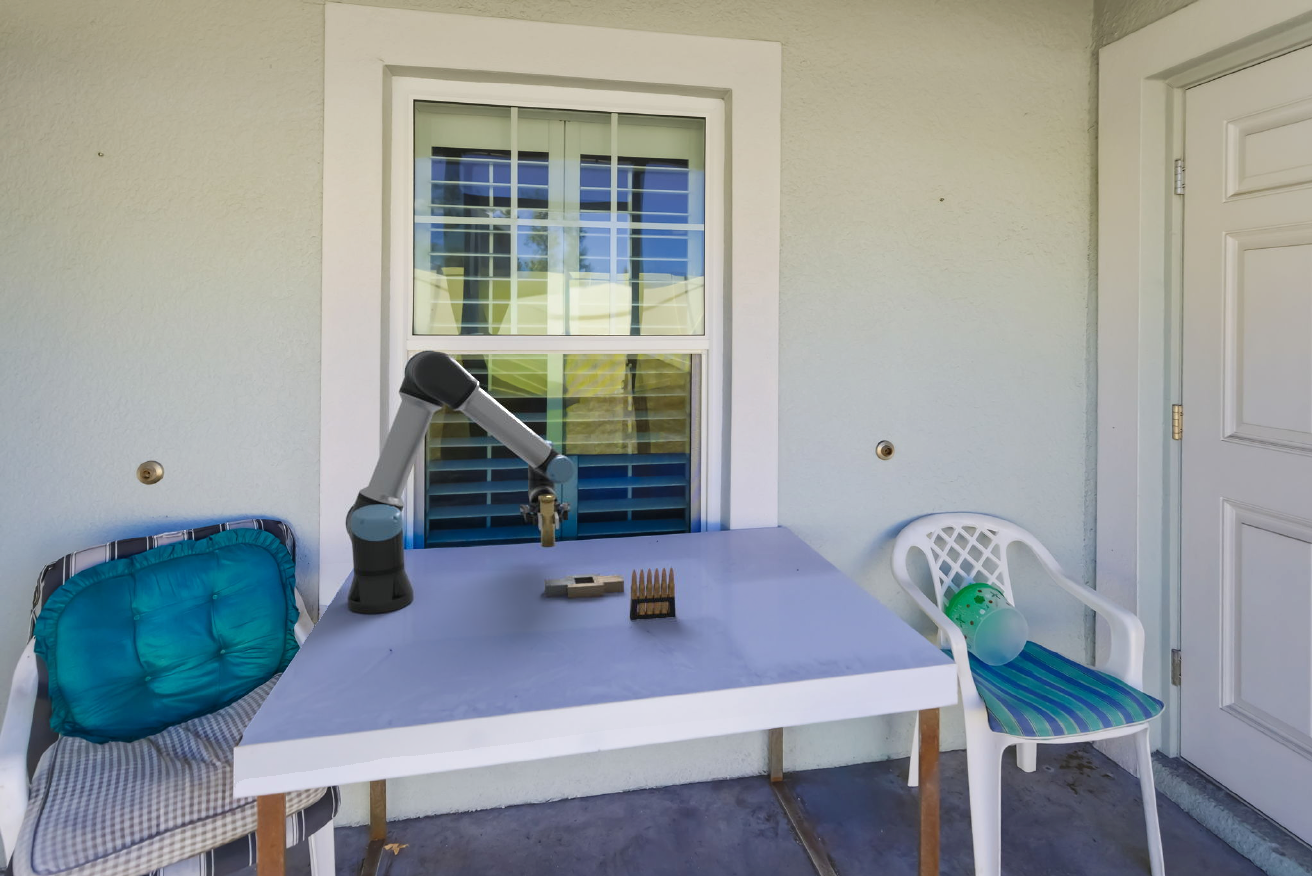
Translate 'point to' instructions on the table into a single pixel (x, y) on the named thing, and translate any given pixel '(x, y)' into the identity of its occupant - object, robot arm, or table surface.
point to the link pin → (547, 520)
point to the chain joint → (584, 586)
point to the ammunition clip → (652, 596)
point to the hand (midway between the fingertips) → (549, 524)
